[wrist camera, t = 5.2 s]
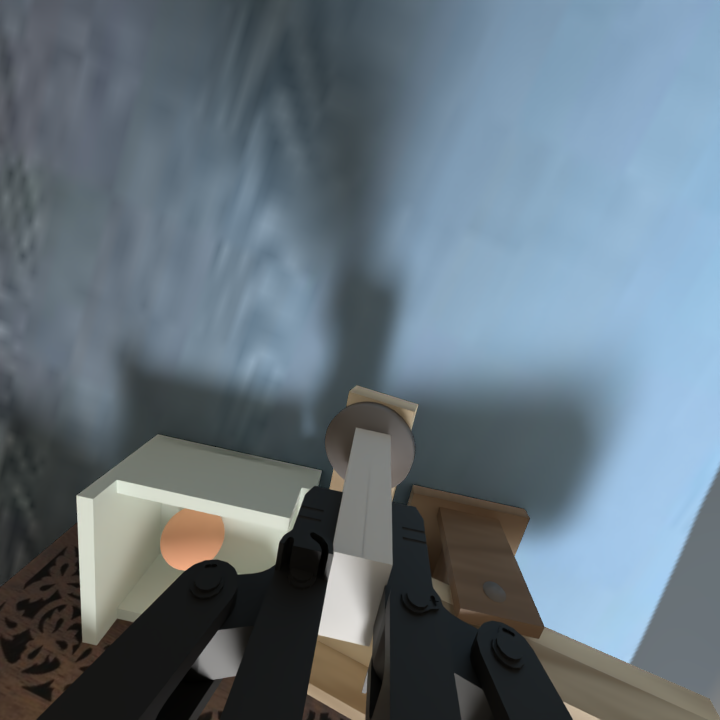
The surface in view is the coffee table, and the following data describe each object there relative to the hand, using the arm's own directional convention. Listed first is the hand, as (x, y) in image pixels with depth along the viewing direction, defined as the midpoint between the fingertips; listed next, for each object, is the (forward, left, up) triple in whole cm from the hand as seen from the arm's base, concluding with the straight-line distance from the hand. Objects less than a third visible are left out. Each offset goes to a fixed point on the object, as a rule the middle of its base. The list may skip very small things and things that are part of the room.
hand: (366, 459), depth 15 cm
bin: (+10, -8, -6) cm, 14 cm away
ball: (+10, -9, -3) cm, 14 cm away
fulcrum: (+10, +7, -6) cm, 13 cm away
